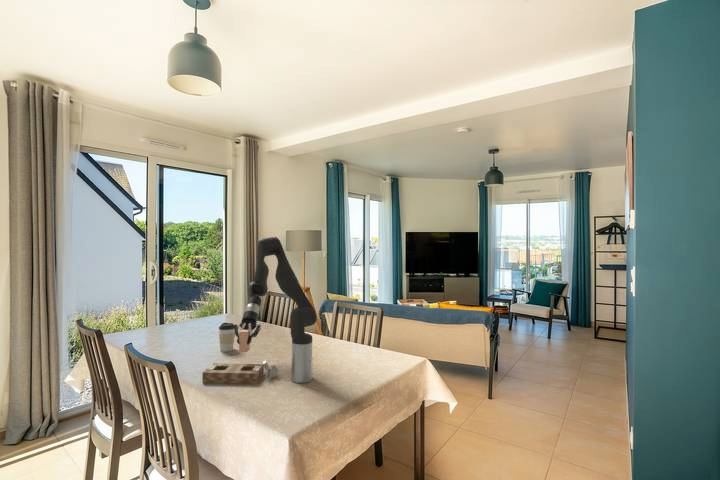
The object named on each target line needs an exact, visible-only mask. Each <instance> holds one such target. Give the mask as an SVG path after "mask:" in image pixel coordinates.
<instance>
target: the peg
mask: <svg viewBox="0 0 720 480" xmlns="http://www.w3.org/2000/svg"><path fill="white" fill-rule="evenodd" d="M240 330H241V329H240ZM240 330H239V331H238V333H239V344H238V347H239V348H238V353H248V352H249V351H250V350H251V343H249V345H248V344H247V340H248V336H249V332H250V330H241V331H240Z"/></svg>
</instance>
